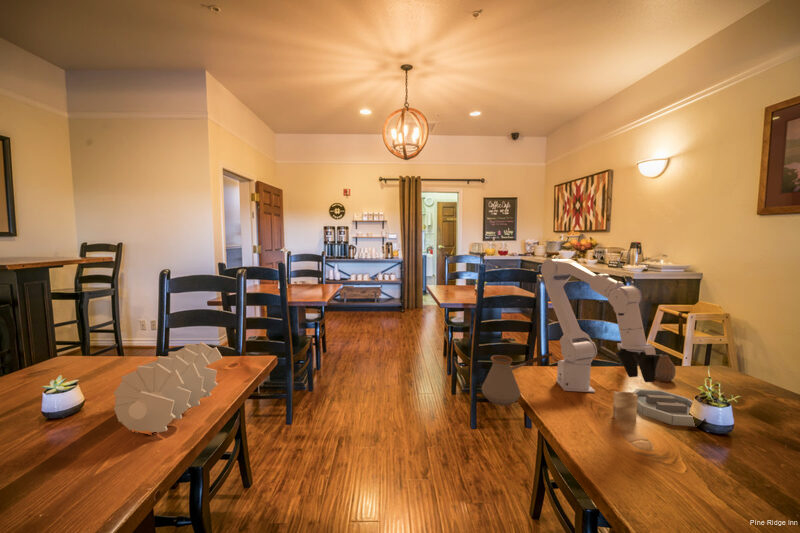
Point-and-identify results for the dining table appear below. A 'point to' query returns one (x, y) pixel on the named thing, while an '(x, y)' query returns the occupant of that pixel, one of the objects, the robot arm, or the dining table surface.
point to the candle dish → (661, 414)
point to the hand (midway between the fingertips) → (641, 379)
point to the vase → (665, 369)
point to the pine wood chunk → (625, 406)
